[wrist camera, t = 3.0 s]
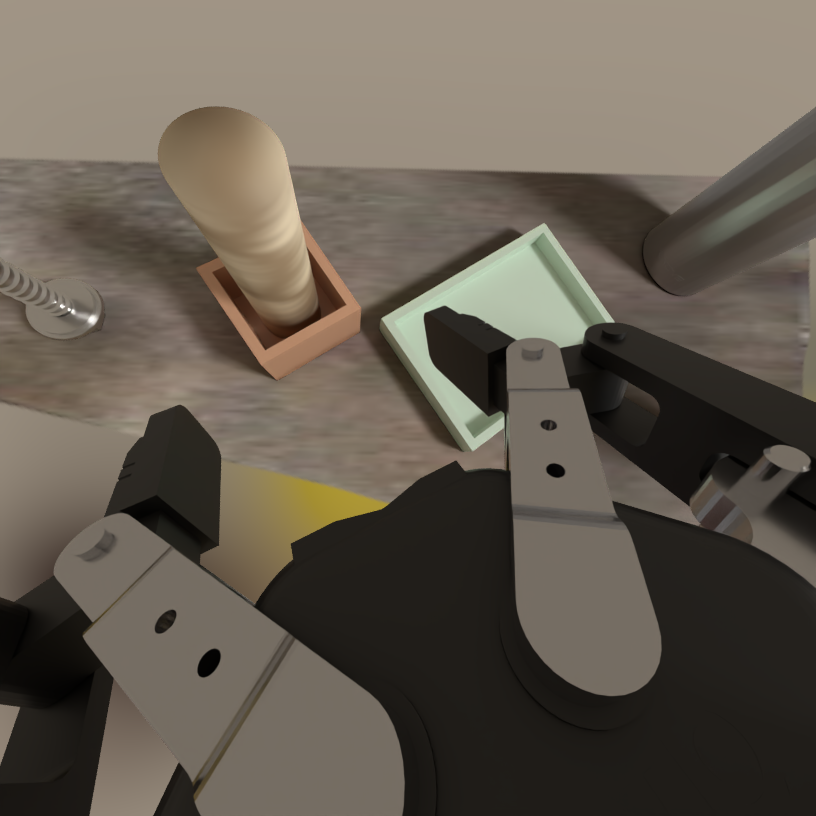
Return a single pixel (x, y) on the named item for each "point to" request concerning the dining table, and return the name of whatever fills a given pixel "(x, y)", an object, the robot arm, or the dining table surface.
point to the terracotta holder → (304, 345)
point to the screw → (54, 303)
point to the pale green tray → (496, 320)
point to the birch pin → (244, 209)
